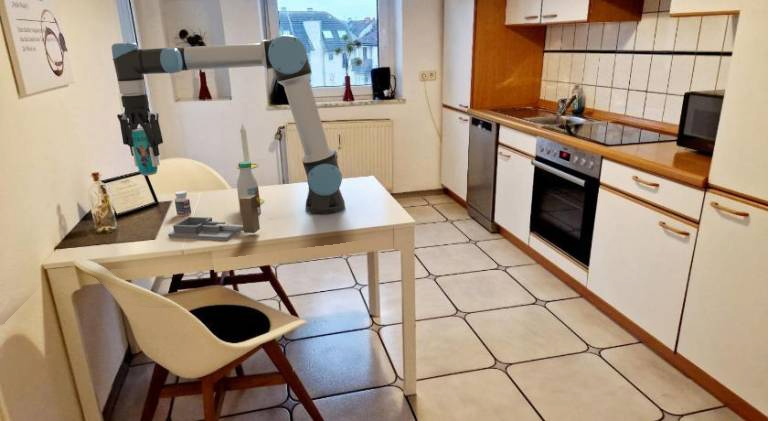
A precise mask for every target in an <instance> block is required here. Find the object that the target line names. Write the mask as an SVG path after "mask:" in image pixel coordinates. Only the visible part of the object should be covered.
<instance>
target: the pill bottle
mask: <svg viewBox="0 0 768 421" xmlns="http://www.w3.org/2000/svg"><path fill="white" fill-rule="evenodd" d="M174 194H175V198H174V205H175V211H176V215H177V216H178V217H188V216H189V215H191V214H192V207H191V201H190V197H189V196H188V194H187V191H186V190H179V191H176V192H175V193H174Z"/></svg>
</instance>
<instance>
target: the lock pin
mask: <svg viewBox="0 0 768 421" xmlns="http://www.w3.org/2000/svg"><path fill="white" fill-rule="evenodd" d="M239 201H240V207H239V210H240V209H241V213H240V216H241V222H242V224H241V225H233V223H225V224H217V225H215V226H220V230H230V231H240V232H243V233H245V234H256V233H257V232H258V231H259V230H260V229H261V226H260V218H259V214H258V209H257V201H256V195H244V196H242V197H241V198H239V199H238V202H239Z"/></svg>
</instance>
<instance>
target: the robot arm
mask: <svg viewBox="0 0 768 421" xmlns="http://www.w3.org/2000/svg"><path fill="white" fill-rule="evenodd" d="M111 53H112V61H113V66H114V69H115V75H116V78H117V79H116V80H117V84H118V89H119V94H120V95H121V97H120V99H121V105H122V107H123V109H124V112H123V113H120V114H119V113H118V114H117V116H116V117H117V119H118V121H119V126H120V133H121V136H122V143H123V145H125V146H126V145H127V146H128V147H129V148H130V154H131V156H132V157H133V161H134V166H135V167H138V164H137V159H136V154H135V149H134V144H133V139H132V130H134V129H138V126H140V128H143V130H144V132H145V134H146V136H147V138H148V140H149V143H150V145H151V146H150V147H149V150H150V156H151V161H152V166H153V167H155V166H157V167H158V166H160V165H161V164H160V158H159V156H160V148H159V146H160V145H161V144H164V140H163V136H162V132H161V126H160V123H159V122H160V121H159V113H158V112H156V113H155V112H151V110H150V109H149V99H148V95H147V94H146V92H147V90H146V89H147V88H146V83H145V79H144V78H145V77H144V75H150V74H151V75H153V74H154V75H157V74H176V73H181V72H184V71H196V70H197V71H198V70H199V71H200V70H216V69H233V68H234V69H235V68H236V69H237V68H251V67H253V68H255V67H263V68H265V69H267V70H270V69H273V72H274V76H275V78H276V81H277V83H278V84H280V85H282V86H283V87H284V92H285V95H286V97H287V101H288V102H287V103H288V105H289V108H290V111H291V114H292V118H293V121H294V124H295V127H296V131H297V134H298V137H299V140H300V144H301V146H302V150H303V153H304V156H303V158H302V160H301V162H302V165H303V169H304V171H305V172H304V173H305V175H306V178H307V181H306V182H307V185H308V191H307V192H308V193H307V197H306V201H305V211H306V213H309V214H312V215H320V216H321V215H331V214H337V213H340V212H342V211H344V210H345V208H346V204H345V203H346V202H345V199H344V197H343V194H342V192H341V189H340V187H341V186H342V181H343V180H342V179H343V176H342V172H341V170H340V167H339V164H338V157H339V156H338V151H337V150H335V149H331V148H330V147H329V144H328V141H327V137H326V134H325V130H324V127H323V124H322V121H321V117H320V114H319V111H318V106H317V103H316V99H315V95H314V92H313V89H312V85H311V83H310V82H311V81H310V77H311V76H312V73H313V72H312V68H311V65H310V61H309V58H308V55H307V54H308V52H307V49H306V46H305V44H304V43H303V41H302V40H301V39H300V38H298V37H297V36H296V35H293V34H280V35H279V36H276V37H275V38H272V39H271V38H270V39H263V40H262V41H261V42H259V43H258V42H257V43H237V44H236V43H235V44H221V45H220V44H219V45H218V44H217V45H202V46H199V45H198V46H186V47H184V46H183V47H161V48H159V47H158V48H139V45H138V44H137V43H136V42H124V43H123V42H119V43H118V42H117V43H113V44H112V45H111Z"/></svg>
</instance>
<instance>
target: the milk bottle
mask: <svg viewBox="0 0 768 421" xmlns="http://www.w3.org/2000/svg"><path fill="white" fill-rule="evenodd" d="M251 164H252V162H251V161H250V162H248V161H246V162H244V161H241V162H238V165H237V166H239V169H238V170H239V174H238V178H237V181H236V182H237V183H236V190H237V197H238V198H237V199H238V206H239V213H240V214H241V209H240V201H239V198H241V197H242V196H244V195H256V201H257V209H258V215H260V214H261V213H262V208H261V204H260V199H261V198H260V190H259V184H258V181H257V178H256V176H255V175H254V173H253V171H252V169H251V168H252V167H251Z"/></svg>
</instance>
